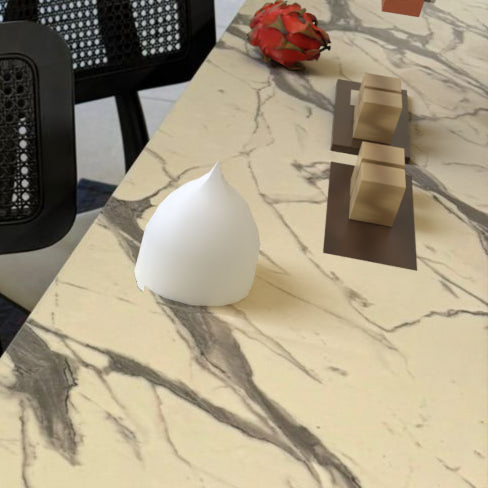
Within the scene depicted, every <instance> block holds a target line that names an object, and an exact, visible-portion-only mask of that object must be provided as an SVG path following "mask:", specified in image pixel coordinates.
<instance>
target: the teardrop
mask: <svg viewBox="0 0 488 488" xmlns="http://www.w3.org/2000/svg"><path fill="white" fill-rule="evenodd" d="M259 232H260V231H259V228H258V225H257V223H256V220H255V218H254V215H253V213H252V211H251V208H250V206H249V203H248V202H247V201H246V199H245V198H244V196H242V194H241V192H240V191H239V190H238V189H237V188H236V187H235V186H233V185H232V184H231V183H229V181H228V180H227V178H226V177H225V176H224V174H223V171H222V166H221V162H220V159H218V160H217V162H216V163H215V165H214V166H213V167H212V168H211V170H210V171H208V172H207V173H205V174H203V175H202V176H200V177H198V178H195V179H193V180H189V181H187V182H185V183H184V184H182V185H181V186H179V187H178V188H176V189H174V190H173V191H171V193H169V194H168V195H167V196H166V197H165V198H164V199H163V200H162V201H161V202H160V203H159V205H158V206H157V208H156V210H155V211H154V213H153V214H152V216H151V217H150V219H149V220H148V222H147V224H146V225H145V228H144V232H143V235H142V239H141V244H140V247H139V251H138V255H137V259H136V263H135V267H134V271H133V274H134V273H135V274H134V277H135V281H137V282H136V285H137V288H139V289H140V291H141V292H144V290H145V288H147V289H148V290H149V291H151V292H153V293H155V294H157V295H158V296H160V297H162V298H164V299H167V300H171V301H174V302H177V303H182V304H185V305H188V306H195V307H197V306H198V307H223V306H227V305H228V306H229V305H233V304H236V303H238V302H239V301H241V300H243V299H245V298H246V297H247V296H248V295H249V293H250V291H251V289H252V288H253V285H254V282H255V276H256V271H257V265H258V259H259V255H260V248H261V239H260V233H259ZM157 303H158V304H160V305H162V306H165V307H168V308H172V309H175V310H179V311H182V312H186V313H189V314H214V315H215V313H214V312H211V311H204V310H200V309H196V308H195V309H194V308H190V307H184V306H181V305H175V304H171V303H170V304H169V303H165V302H160V301H157Z"/></svg>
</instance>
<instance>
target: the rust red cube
mask: <svg viewBox="0 0 488 488" xmlns="http://www.w3.org/2000/svg"><path fill="white" fill-rule="evenodd" d="M424 1H425V0H381V12H383V13H388V14H389V13H391V14H396V15H403V16H409V17H414V18H420V15H421V13H422V10H423V7H424V4H425V2H424Z"/></svg>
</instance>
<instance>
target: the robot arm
mask: <svg viewBox="0 0 488 488" xmlns="http://www.w3.org/2000/svg"><path fill="white" fill-rule="evenodd" d="M436 1H437V0H425V1H424V3H428V4H435V3H436Z"/></svg>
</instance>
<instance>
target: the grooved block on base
mask: <svg viewBox="0 0 488 488" xmlns="http://www.w3.org/2000/svg"><path fill="white" fill-rule="evenodd" d="M329 165H330V166H329V178H328V189H327V199H326V200H327V201H326V211H325V224H324V234H323V235H324V236H323V246H322V247H323V248H322V254H327V255H333V256H338V257H343V258H348V259H352V260H359V261H363V262H370V263H373V264H380V265H383V266H389V267H395V268H400V269H405V270H410V271H416V272H417V271H418V263H417V247H416V246H417V245H416V226H415V212H414V211H415V209H414V194H413V193H414V192H413V190H414V189H413V175H410V174H406V169H405V167H406V163H405V156H404V149H403V148H397V147H392V146H386V145H380V144H374V143H369V142H362V145H361V148H360V151H359V154H358V155H357V158H356V161H355V165H353V164H348V163H344V162H343V163H342V162H336V161H330V164H329Z"/></svg>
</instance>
